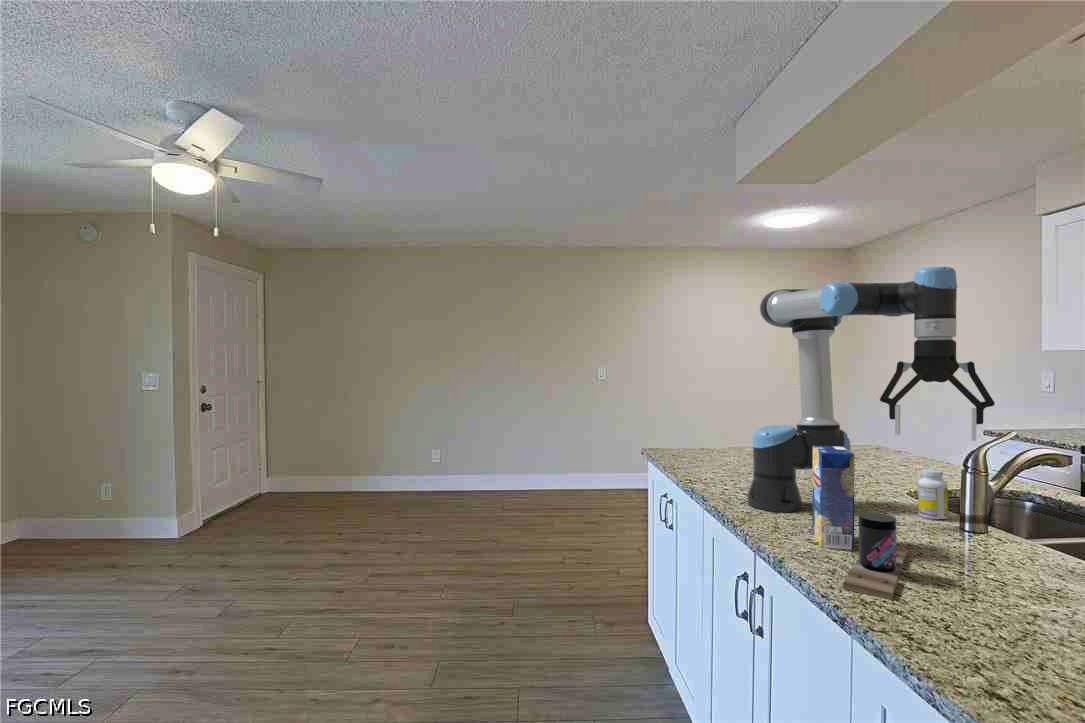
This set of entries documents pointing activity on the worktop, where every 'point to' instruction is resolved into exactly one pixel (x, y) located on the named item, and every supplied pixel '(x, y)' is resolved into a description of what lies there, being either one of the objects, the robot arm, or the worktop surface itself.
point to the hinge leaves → (875, 579)
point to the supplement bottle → (932, 495)
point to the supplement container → (877, 542)
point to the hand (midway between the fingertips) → (934, 437)
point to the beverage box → (833, 497)
